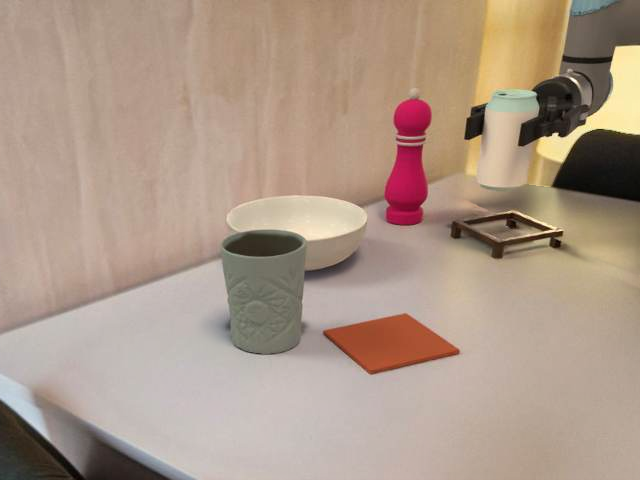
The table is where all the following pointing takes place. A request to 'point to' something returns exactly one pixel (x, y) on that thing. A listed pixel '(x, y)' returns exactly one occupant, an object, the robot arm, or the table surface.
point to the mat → (390, 343)
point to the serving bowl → (306, 224)
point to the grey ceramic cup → (265, 288)
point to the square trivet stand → (500, 243)
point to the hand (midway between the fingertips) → (494, 132)
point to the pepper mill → (408, 162)
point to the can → (505, 140)
